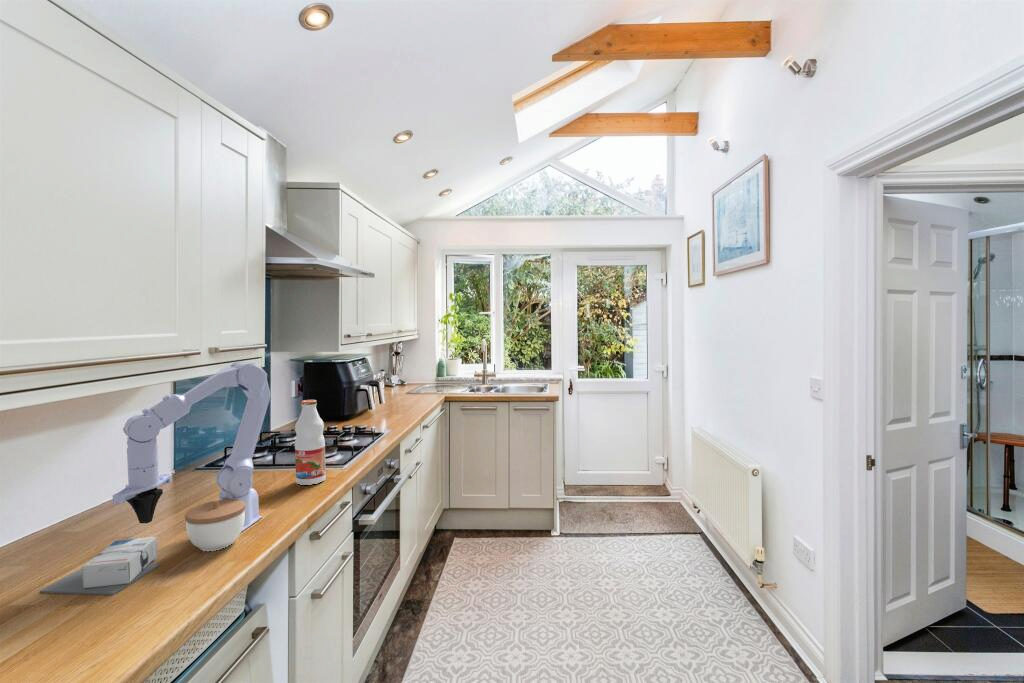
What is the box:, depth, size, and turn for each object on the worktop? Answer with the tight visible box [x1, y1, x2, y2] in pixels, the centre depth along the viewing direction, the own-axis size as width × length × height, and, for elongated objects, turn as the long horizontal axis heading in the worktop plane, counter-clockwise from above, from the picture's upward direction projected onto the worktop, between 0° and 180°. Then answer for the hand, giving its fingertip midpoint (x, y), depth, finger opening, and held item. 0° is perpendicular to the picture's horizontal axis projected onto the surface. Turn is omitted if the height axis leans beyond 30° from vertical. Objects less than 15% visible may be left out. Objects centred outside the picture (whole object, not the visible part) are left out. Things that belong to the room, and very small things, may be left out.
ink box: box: [81, 536, 158, 588], centre depth 102 cm, size 8×5×12 cm
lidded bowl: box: [184, 499, 245, 553], centre depth 116 cm, size 13×13×11 cm
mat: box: [39, 562, 161, 596], centre depth 101 cm, size 12×16×1 cm
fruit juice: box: [294, 399, 327, 486], centre depth 160 cm, size 9×9×28 cm
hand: (145, 522), depth 112 cm, fingers closed
